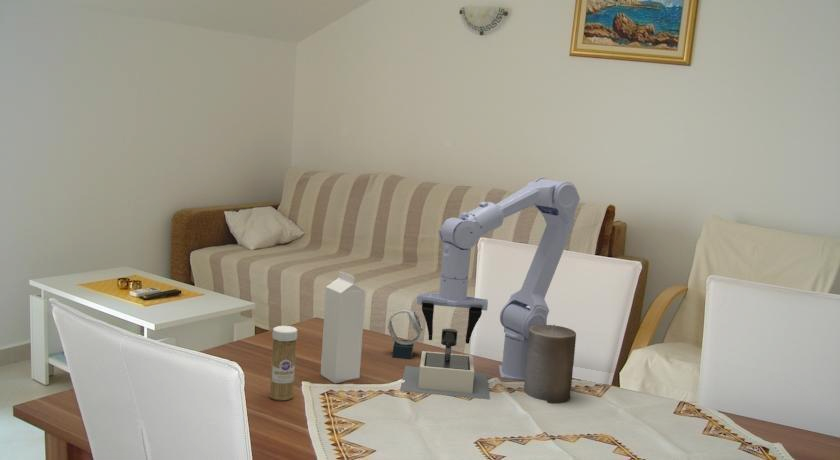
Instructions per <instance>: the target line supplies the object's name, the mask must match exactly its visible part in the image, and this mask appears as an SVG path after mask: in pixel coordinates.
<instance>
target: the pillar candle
mask: <svg viewBox="0 0 840 460" xmlns="http://www.w3.org/2000/svg"><path fill="white" fill-rule="evenodd" d="M576 340H577V333H576V331H574V330H573V329H570V328H568V327H565V326H561V325H555V324H547V325H534V326H531V327H530V328H529V338H528V350H527V361H526V372H525V380H524V387H523V392H524V393H525V394H526V395H528V396H529V397H532V398H534V399H537V400H540V401H541V400H542V401H546V402H547V403H562V402H567V401H569V400H570V399H571V391H572V389H571V388H572V383H573V371H574V362H575V351H576V342H577V341H576Z"/></svg>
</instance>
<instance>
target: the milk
mask: <svg viewBox="0 0 840 460" xmlns="http://www.w3.org/2000/svg"><path fill="white" fill-rule="evenodd" d="M324 299H325V301H324V311H323V312H324V315H323V329H322V332H323V333H322V343H321V344H322V345H321V347H322V348H321V359H320V360H321V362H320V376H322V377H324V378H325V379H327V380H329V381H330V382H331V383H333V384H339V383H345V382H346V381H348V380H356V379H360V378H361V377H360V375H361V372H360V371H361V362H362V347H363V335H364V334H363V333H364V320H365V319H364V317H365V304H366V301H365V300H366V290H364V289H363V288H362V287H360V286H359V285H357V284H355V276H354V275H352V274H349V273H346V272H345V271H342V270H339V272H338V278H336V279H334V280H333V281H332V282H331V283H329V284H328V285H326V287H325V297H324Z"/></svg>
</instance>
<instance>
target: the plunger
mask: <svg viewBox="0 0 840 460" xmlns="http://www.w3.org/2000/svg"><path fill="white" fill-rule="evenodd" d="M457 340H458V330H457V329H453V328H442V330H441V340H440V341H441V342H440V344H441V345H442V346H445V349H444V350H445V352H444V353H445V355H443V354H432V353H427V361H426V366H430V367H441V368H452V369H463V370H468V358H467V357H466V356H455V355H451V354H452V347H455V346H457V342H458V341H457Z"/></svg>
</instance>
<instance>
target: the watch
mask: <svg viewBox="0 0 840 460" xmlns="http://www.w3.org/2000/svg"><path fill="white" fill-rule="evenodd" d="M403 313H404V314H405V313H406V314H407V316H408V319H409V321H410V324H411V326H412V328H413V330H414V331H415V332H416V333H417V336H416V337H415V338H414V339H412V340H406V339H399V338H398V335H397V334H396V332H395V330H394V327H393V324H392V323H393V322H392V319H393V318H394V317H395V316H396V315H398V314H403ZM387 328H388V332H389V335H390V337H391V338H392V340H393V341H394V344H393V346H392V358H393V359H404V360H412V358H413V353H414V345H415V343H416V342H417V341H418V340H419V338H420V337H421V332H424V331H423V330H424V329H423V325H422V323H421V320H420V317H419V316H418V314H417V312H416V311H412V310H411V309H407V308H401V309H398V310H395V312H393V313H392V314H391V316H390V318H389V320H388V324H387Z"/></svg>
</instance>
